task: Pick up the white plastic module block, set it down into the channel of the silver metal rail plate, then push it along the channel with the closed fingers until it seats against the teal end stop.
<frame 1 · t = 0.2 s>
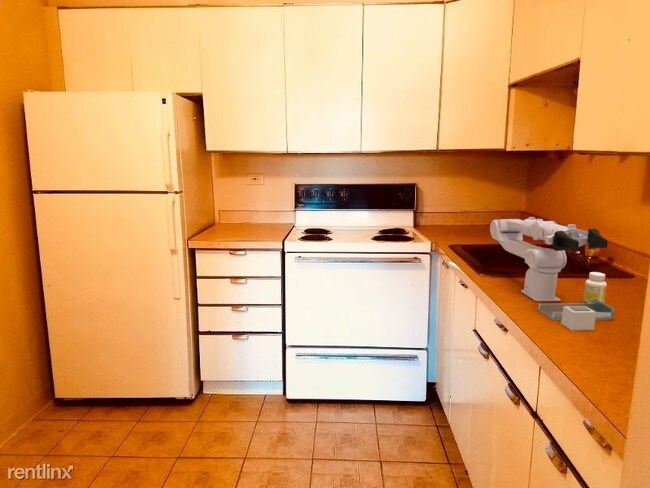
hand: (591, 244, 112), 21 cm above the counter, tool horizontal, fingers open, 7 cm apart
rail plate: (574, 314, 122), on the counter
module: (576, 327, 114), on the counter
supplement bottle: (592, 305, 130), on the counter
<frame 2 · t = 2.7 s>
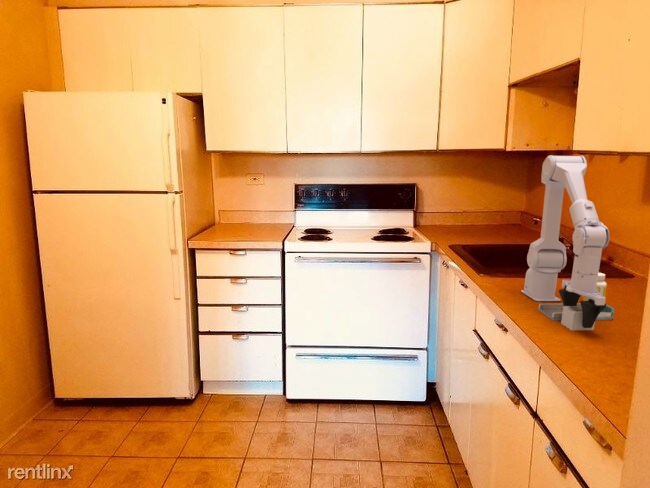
hand: (577, 321, 114), 1 cm above the counter, tool pointing down, fingers open, 7 cm apart
nothing on the counter moved.
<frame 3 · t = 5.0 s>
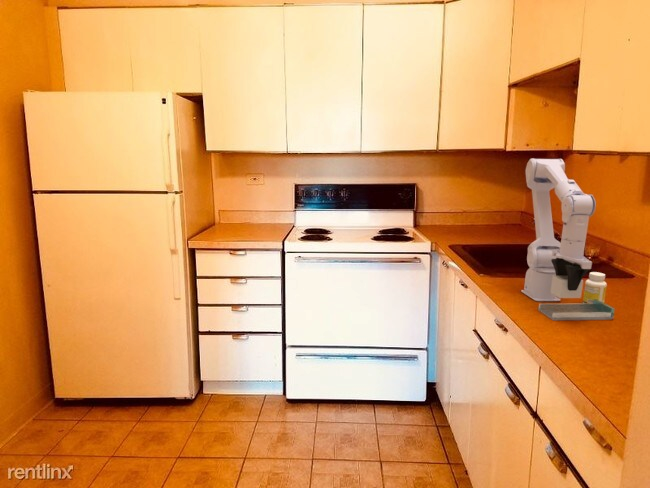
hand: (566, 287, 120), 8 cm above the counter, tool pointing down, fingers closed on module, 4 cm apart
module: (565, 295, 120), point 6 cm above the counter, touching gripper
everything else where it was.
when the fingers open (3 cm above the counter, at t = 6.7 s): module stays where it is, resting on rail plate.
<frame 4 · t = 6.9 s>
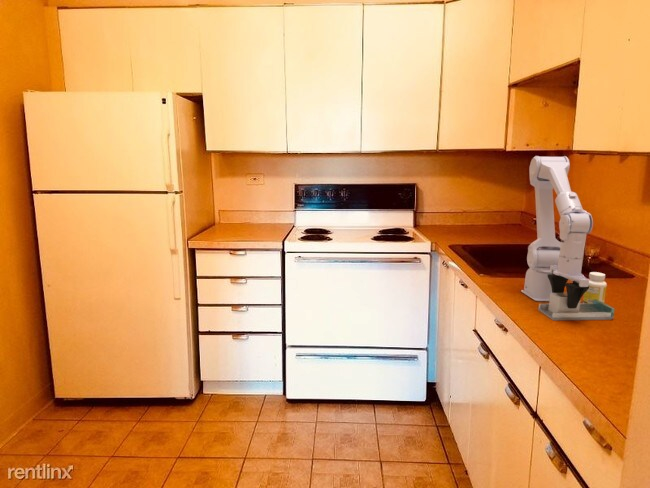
hand: (564, 303, 121), 3 cm above the counter, tool pointing down, fingers open, 6 cm apart
module: (563, 312, 122), point 1 cm above the counter, touching rail plate
everything else where it was.
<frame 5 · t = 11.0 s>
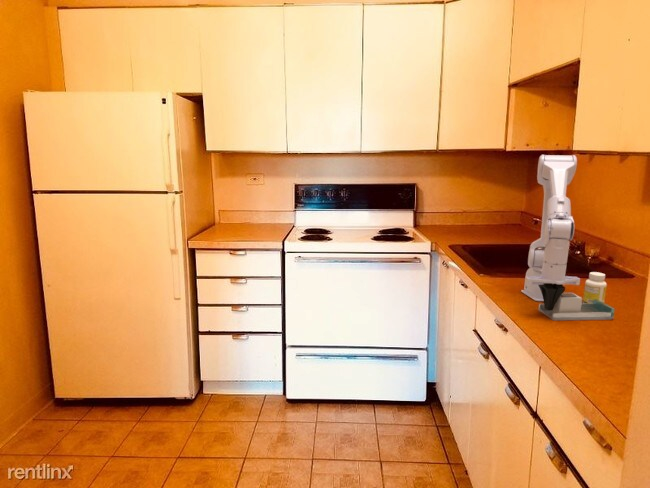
hand: (548, 309, 121), 2 cm above the counter, tool pointing down, fingers closed
module: (564, 312, 122), point 1 cm above the counter, touching gripper
everything else where it was.
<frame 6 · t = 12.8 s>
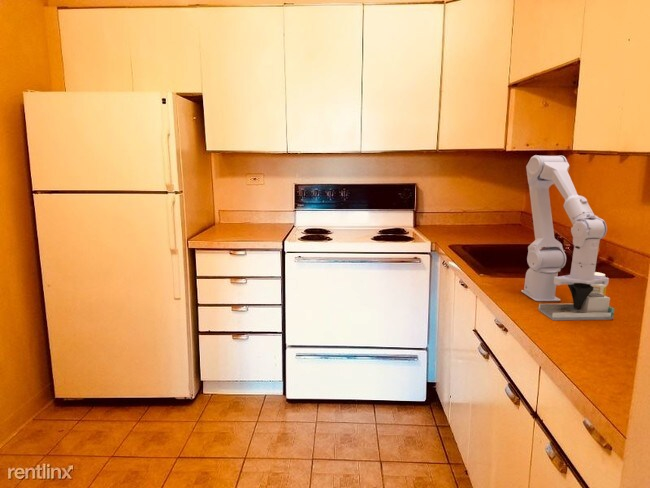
hand: (577, 308, 122), 2 cm above the counter, tool pointing down, fingers closed
module: (591, 312, 122), point 1 cm above the counter, touching gripper, rail plate
everything else where it was.
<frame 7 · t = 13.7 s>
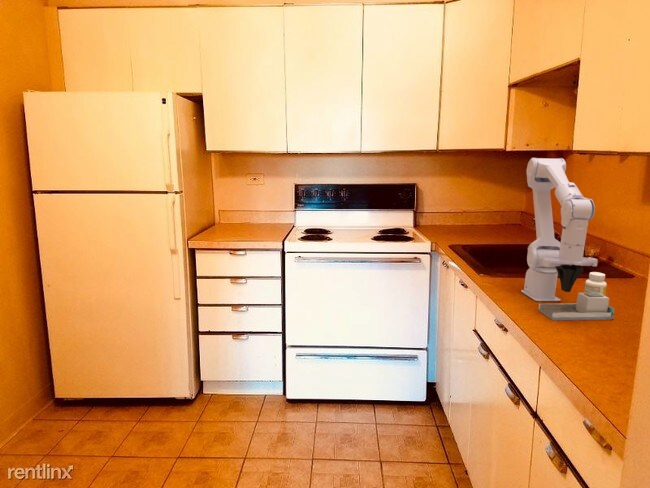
hand: (565, 290, 120), 7 cm above the counter, tool pointing down, fingers closed
module: (590, 312, 122), point 1 cm above the counter, touching rail plate
everything else where it was.
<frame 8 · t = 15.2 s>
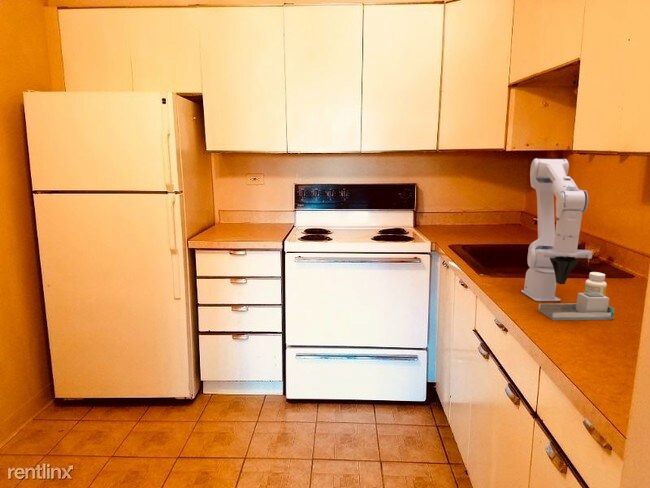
hand: (560, 283, 120), 9 cm above the counter, tool pointing down, fingers closed
nothing on the counter moved.
at the end: module 0.3 cm from the target spot, point 0.8 cm above the counter; module tilted 0°; the gripper is holding nothing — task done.
